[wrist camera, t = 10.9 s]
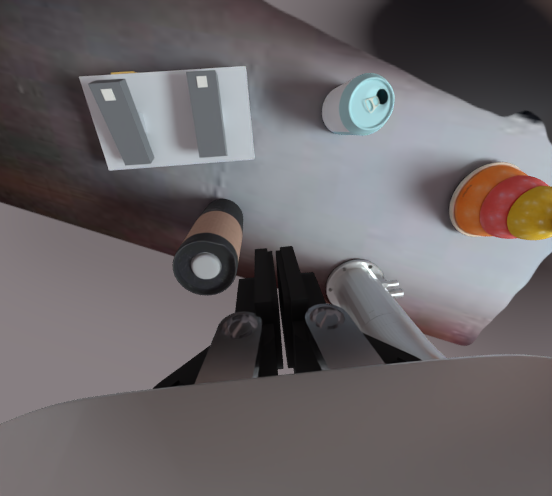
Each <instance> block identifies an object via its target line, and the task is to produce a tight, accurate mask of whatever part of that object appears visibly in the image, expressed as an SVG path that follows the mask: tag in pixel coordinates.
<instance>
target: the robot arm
mask: <svg viewBox="0 0 552 496" xmlns="http://www.w3.org/2000/svg"><path fill="white" fill-rule="evenodd" d="M276 262H277V276H278V290H279V302H280V311H281V319H282V327H283V334H284V342H285V350H286V357H287V365H288V368H294V374H286V375H278V369H283V359H282V358H283V356H282V343H281V330H280V316H279V304H278V295H277V287H276V279H275V271H274V263H273V255H272V251H267V248H265V249H255V277H254V278H245V279H239V284H238V292H237V302H236V310H235V313H233V314H231V315H229V316H227V317H225V318H224V319H223V320H222V321H221V322H220V324H219V325H218V328H217V330H216V333H215V335H214V337H213V340H212V343H211V345H210V346H209V347H207V348H206V349H205V350H203V351H202V352H201V353H199V354H198V355H196V356H195V357H194V358H192V359H191V360H190V361H188V362H187V363H186V364H184V365H183V366H182V367H180V368H179V369H177V370H176V371H175V372H173V373H172V374H171V375H169V376H168V377H166V378H165V379H164V380H162V381H161V382H160V383H158V384H157V385H156V386H155V387H154V388H153V389H149V390H140V391H131V392H124V393H116V394H110V395H103V396H95V397H88V398H82V399H77V400H72V401H68V402H63V403H58V404H55V405H52V406H48V407H45V408H41V409H38V410H35V411H32V412H29V413H27V414H24V415H21V416H19V417H16V418H14V419H11V420H9V421H6V422H4V423H1V424H0V496H552V358H551V357H544V356H533V355H519V354H517V355H516V354H498V355H484V356H483V355H482V356H468V357H454V358H447V357H445V356H444V355H443V354H442V353H441V352H440V351H439V350H438V349H437V348H436V347H435V346H434V345H433V344H432V343H431V342H430V341H429V340H428V339H427V338H426V337H425V335H424V334H423V333H422V332H421V331H420V330H419V328H418V327H417V326H416V325H415V324H414V322H413V321H412V320H411V319H410V317H409V316H408V315H407V314H406V313H405V311H404V310H403V309H402V308H401V306H400V305H399V304H398V303H397V302H396V300H395V299H394V298H401V297H403V290H402V289H401V288H399V289H392V290H387V288H388V287H398V286H399V283H398V281H397V280H392V281H386V280H384V276H383V273H382V272H381V270H380V269H379V268H378V267H377V266H376V265H375V264H374V263H372V262H370V261H367V260H360V259H358V260H351V261H348V262H345V263H343V264H341V265H340V266H338V267H337V268H336V269H335V270H334V271H333V272H332V273H331V274H330V276H329V278H328V280H327V283H326V294H327V296H328V298H329V300H330V302H331V303H332V304H326V302H325V300H324V297H323V295H322V292H321V290H320V287H319V285H318V282H317V280H316V277H315V275H314V273H313V272H310V273H300V269H299V266H298V263H297V260H296V257H295V253H294V250H293V247H292V246H288V247H280V250H279V251H276Z"/></svg>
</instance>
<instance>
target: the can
mask: <svg viewBox="0 0 552 496" xmlns="http://www.w3.org/2000/svg"><path fill="white" fill-rule="evenodd" d="M394 100H395V99H394V92H393V89H392V87H391V85H390V84H389V83H388V82H387V80H386V79H385V78H383V77H382V76H380V75H378V74H374V73H365V74H362V75H359V76H357V77H355V78H353V79H352V80H350V81H348V82H346V83H344V84H342V85H340V86H338V87H337V88H335V89H333V90H332V91H331V92H330V93H329V94H328V95H327V97H326V99H325V101H324V103H323V107H322V118H323V121H324V124H325V125H326V127H327V128H328V129H329V130H330V131H331V132H333V133H335V134H341V135H361V136H364V135H369V134H372V133H374V132H376V131H378V130H379V129H380V128H381V127H382V126H383V125H384V124H385V123H386V122H387V120H388V118H389V117H390V115H391V113H392V111H393V107H394Z"/></svg>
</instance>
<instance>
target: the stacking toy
mask: <svg viewBox="0 0 552 496" xmlns="http://www.w3.org/2000/svg"><path fill="white" fill-rule="evenodd" d="M449 215H450V219H451V222H452V224H453V226H454V227H455V228H456V229H457V230H458V231H459V232H460V233H462V234H464V235H466V236H471V237H481V236H495V237H499V238H506V239H513V238H520V239H525V240H541V239H546V238H549V237H552V187H550V186H548V185H547V184H546V183H545V182H543V181H541V180H540V179H537V178H535V177H531V176H528V175H527V174H525V173H524V172H522V171H521V170H520V169H519V168H518V167H517V166H515V165H513V164H511V163H507V162H495V163H490V164H487V165H484V166H482V167H480V168H478V169H476V170H474V171H473V172H471V173H470V174H469V175H468V176H467V177H465V178H464V179H463V180H462V182H461V183H460V184H459V185H458V187H457V188H456V190H455V192H454V194H453V196H452V198H451V202H450V207H449Z"/></svg>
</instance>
